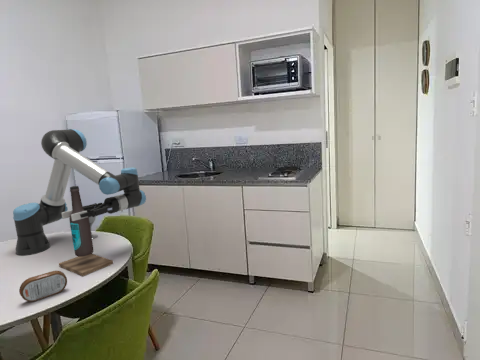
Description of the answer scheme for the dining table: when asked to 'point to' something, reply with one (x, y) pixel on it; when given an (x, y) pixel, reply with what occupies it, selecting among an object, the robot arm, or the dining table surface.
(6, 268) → the dining table surface
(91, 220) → the wine glass
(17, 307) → the dining table surface
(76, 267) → the serving board
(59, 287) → the tin
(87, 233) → the beer bottle
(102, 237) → the dining table surface
